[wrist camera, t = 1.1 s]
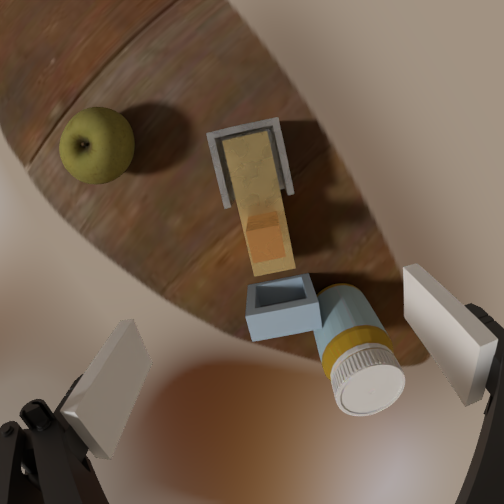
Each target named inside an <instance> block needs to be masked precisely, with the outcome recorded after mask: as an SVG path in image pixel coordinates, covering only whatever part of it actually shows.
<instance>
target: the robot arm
mask: <svg viewBox="0 0 504 504" xmlns="http://www.w3.org/2000/svg"><path fill="white" fill-rule="evenodd" d="M403 278H404V318H405V319H406V321H407V322H408V323H409V325H410V326H411V327H412V329H413V330H414V332H415V333H416V334H417V336H418V337H419V339H420V340H421V341H422V343H423V344H424V346H425V347H426V348H427V350H428V351H429V353H430V354H431V356H432V357H433V359H434V360H435V362H436V363H437V364H438V366H439V367H440V368H441V370H442V372H443V373H444V375H445V376H446V378H447V379H448V381H449V382H450V384H451V385H452V387H453V388H454V390H455V392H456V393H457V395H458V396H459V398H460V399H461V401H462V403H463V404H464V406H465V407H466V406H468V405H470V404H473V403H475V402H477V401H479V400H481V399H482V397H483V394H484V391H485V388H486V389H487V390H488V391H489V393H490V397H489V401H488V403H487V406H486V409H485V411H484V414H485V417H484V421H483V425H482V429H481V432H480V436H479V439H478V443H477V446H476V449H475V453H474V456H473V458H472V461H471V465H470V467H469V470H468V473H467V476H466V478H465V481H464V483H463V486H462V488H461V491H460V493H459V496H458V498H457V501H456V503H455V504H504V329H503V328H502V327H501V326H500V325H499V324H498V323H497V322H496V321H494V319H493V318H492V317H491V316H488V314H487V313H486V312H485V311H484V310H483V309H482V308H481V307H478V306H476V305H474V304H472V303H471V304H467V305H463V304H462V303H461V302H460V301H459V300H458V299H457V298H456V297H454V296H453V295H452V294H451V293H450V292H449V291H448V290H447V289H446V288H445V287H444V286H442V285H441V284H440V283H439V282H438V281H437V280H436V279H435V278H433V277H432V276H431V275H430V274H429V273H428V272H427V271H425V270H424V269H423V268H422V267H421V266H420V265H418V264H413V265H408V266H404V267H403ZM151 365H152V360H151V358H150V356H149V354H148V352H147V349H146V347H145V345H144V343H143V340H142V338H141V336H140V334H139V331H138V329H137V327H136V324H135V322H134V319H130V320H122V321H120V322H119V324H118V325H117V327H116V328H115V330H114V331H113V332H112V333H111V335H110V336H109V338H108V339H107V341H106V342H105V344H104V345H103V347H102V348H101V349H100V351H99V352H98V354H97V355H96V357H95V358H94V359H93V361H92V362H91V364H90V365H89V367H88V368H87V370H86V371H85V373H84V374H82V375H81V376H80V377H78V378H77V380H75V381H74V383H73V384H72V386H71V387H70V390H68V392H67V393H66V396H64V398H63V399H62V401H61V403H60V404H59V405H58V407H57V408H56V410H55V412H54V413H52V411H51V410H50V408H49V407H48V406H47V404H46V403H45V401H44V400H41V399H36V400H32V401H30V402H29V403H27V404H26V405H25V406H24V407H23V408H22V410H21V412H20V417H21V418H22V420H23V421H24V422H25V424H26V425H27V426H28V428H29V429H23V430H22V428H21V427H20V426H19V424H18V423H17V422H15V421H10V422H7V423H5V424H3V425H2V426H1V428H0V504H109V502H108V501H107V498H106V496H105V494H104V492H103V490H102V488H101V485H100V483H99V481H98V478H97V476H96V474H95V471H94V469H93V467H92V465H91V462H90V460H89V459H88V457H87V456H86V454H87V451H88V449H89V450H90V451H91V452H92V453H93V455H94V456H95V457H96V458H101V459H110V460H111V459H112V457H113V454H114V451H115V449H116V447H117V444H118V442H119V440H120V437H121V434H122V432H123V430H124V427H125V425H126V423H127V420H128V418H129V416H130V413H131V411H132V409H133V406H134V404H135V402H136V399H137V397H138V395H139V392H140V390H141V388H142V386H143V383H144V381H145V379H146V376H147V374H148V372H149V370H150V368H151ZM21 466H22V467H23V468H24V469H25V474H23V473H22V471H21Z"/></svg>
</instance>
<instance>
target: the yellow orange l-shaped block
mask: <svg viewBox="0 0 504 504" xmlns="http://www.w3.org/2000/svg"><path fill="white" fill-rule="evenodd" d="M222 143H223V147H224V151H225V155H226V160H227V164H228V168H229V172H230V176H231V181H232V185H233V189H234V193H235V197H236V202H237V206H238V210H239V214H240V218H241V223H242V227H243V231H244V235H245V239H246V243H247V248H248V252H249V256H250V260H251V264H252V268H253V273H254V276H259V275H265V274H270V273H275V272H280V271H285V270H290V269H295V263H294V257H293V252H292V247H291V242H290V237H289V232H288V227H287V222H286V217H285V212H284V207H283V202H282V197H281V192H280V188H279V183H278V178H277V173H276V169H275V164H274V160H273V155H272V151H271V146H270V142H269V137H268V133H267V131H264V132H259V133H254V134H250V135H245V136H241V137H236V138H232V139H228V140H224V141H222Z"/></svg>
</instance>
